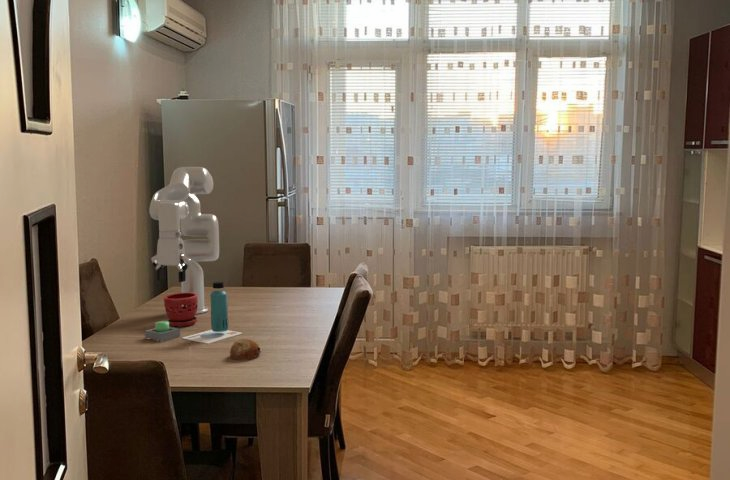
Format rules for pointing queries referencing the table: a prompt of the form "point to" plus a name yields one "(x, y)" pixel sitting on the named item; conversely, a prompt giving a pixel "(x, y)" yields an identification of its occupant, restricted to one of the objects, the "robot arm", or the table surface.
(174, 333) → the button housing
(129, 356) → the table surface
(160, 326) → the button
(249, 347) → the bread roll
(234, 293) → the table surface
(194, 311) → the plant pot
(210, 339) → the drawing sheet
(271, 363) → the table surface
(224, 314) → the beverage bottle
